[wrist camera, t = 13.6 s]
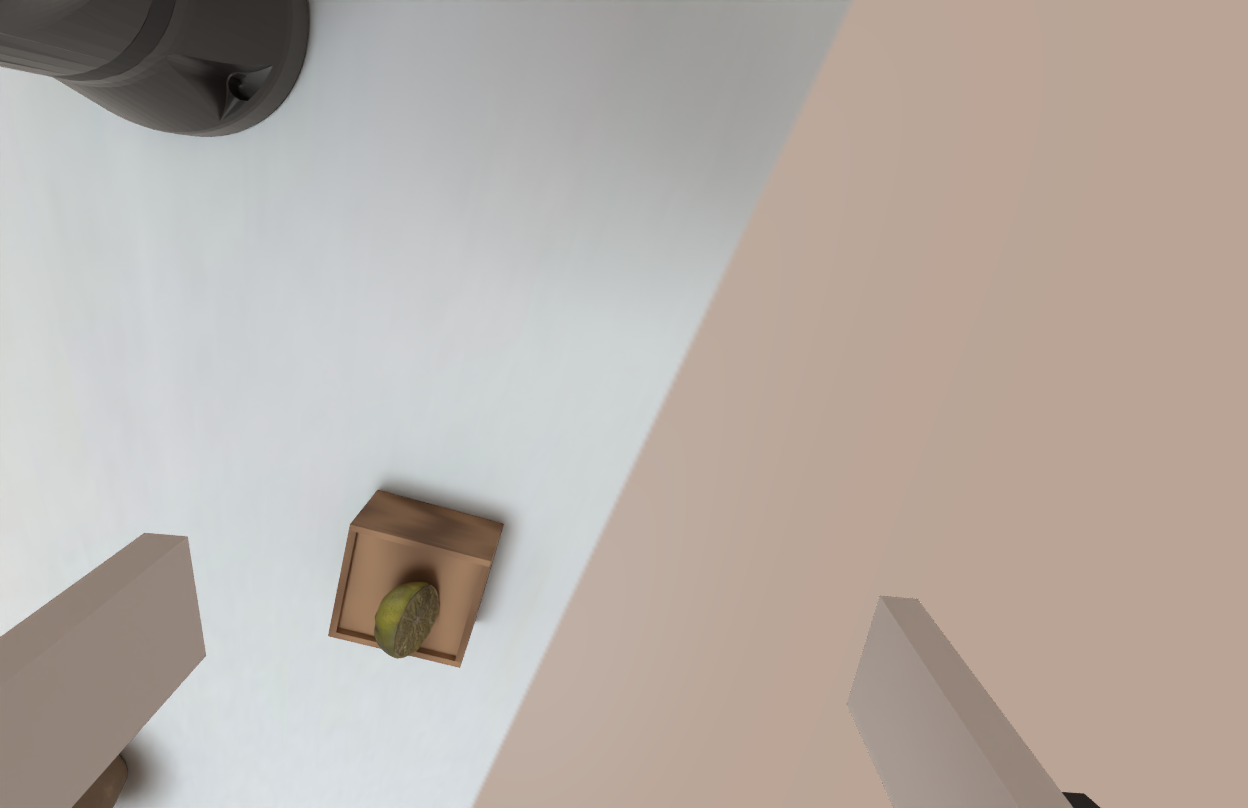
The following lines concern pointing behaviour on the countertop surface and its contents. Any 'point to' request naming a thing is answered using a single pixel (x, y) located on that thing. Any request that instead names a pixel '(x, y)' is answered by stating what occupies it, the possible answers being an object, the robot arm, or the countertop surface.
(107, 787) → the flower pot
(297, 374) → the countertop surface
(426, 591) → the lime
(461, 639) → the walnut tray
